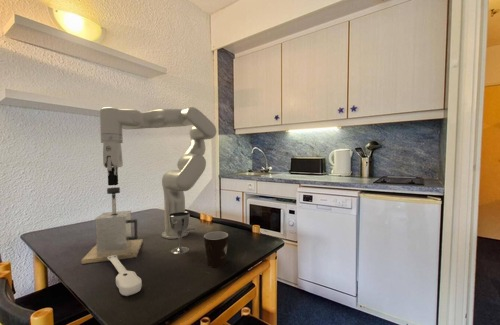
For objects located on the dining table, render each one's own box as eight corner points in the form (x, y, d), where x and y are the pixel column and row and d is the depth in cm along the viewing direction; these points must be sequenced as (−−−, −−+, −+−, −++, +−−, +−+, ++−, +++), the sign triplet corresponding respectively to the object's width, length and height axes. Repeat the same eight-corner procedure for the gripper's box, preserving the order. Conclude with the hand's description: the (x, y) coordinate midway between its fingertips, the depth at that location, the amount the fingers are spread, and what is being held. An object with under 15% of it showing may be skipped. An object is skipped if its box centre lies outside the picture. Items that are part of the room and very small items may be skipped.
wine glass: (169, 255, 90) (168, 217, 90) (170, 247, 98) (169, 212, 97) (190, 253, 92) (189, 215, 92) (190, 245, 100) (189, 210, 100)
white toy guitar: (102, 265, 83) (102, 257, 83) (120, 260, 87) (120, 253, 87) (123, 300, 62) (122, 290, 62) (145, 292, 66) (145, 282, 66)
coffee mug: (217, 255, 89) (216, 229, 89) (233, 262, 84) (233, 234, 84) (192, 267, 80) (191, 238, 80) (208, 275, 75) (208, 244, 75)
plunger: (128, 224, 99) (126, 186, 99) (123, 230, 91) (122, 188, 91) (106, 226, 97) (104, 187, 96) (99, 232, 89) (98, 189, 89)
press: (142, 242, 105) (141, 208, 104) (136, 257, 89) (135, 217, 89) (96, 247, 99) (95, 211, 99) (81, 264, 84) (80, 221, 84)
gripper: (117, 137, 87) (119, 186, 88) (126, 140, 101) (127, 182, 102) (94, 137, 85) (96, 187, 85) (106, 140, 99) (107, 183, 100)
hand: (113, 185), depth 94 cm, fingers closed
